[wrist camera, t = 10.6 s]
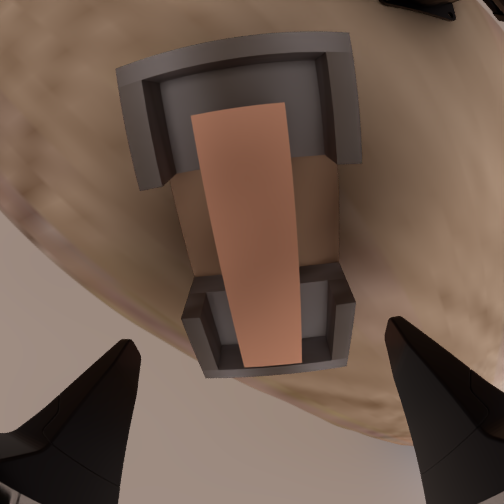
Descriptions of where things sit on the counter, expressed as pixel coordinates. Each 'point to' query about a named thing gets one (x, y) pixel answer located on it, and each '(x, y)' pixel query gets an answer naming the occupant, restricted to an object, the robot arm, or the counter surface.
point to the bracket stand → (303, 170)
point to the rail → (254, 226)
